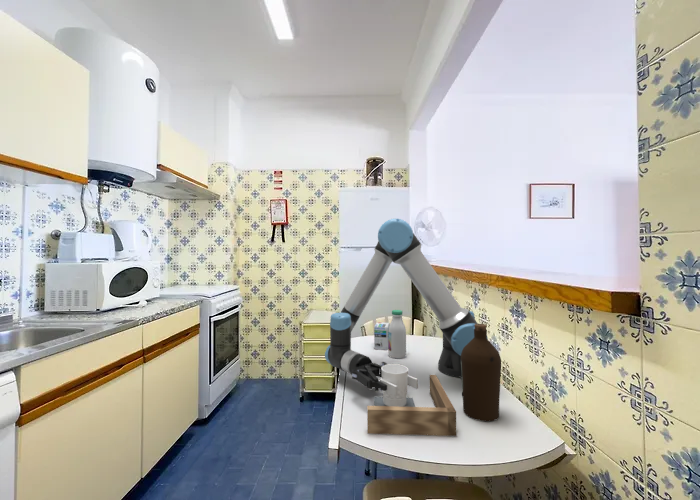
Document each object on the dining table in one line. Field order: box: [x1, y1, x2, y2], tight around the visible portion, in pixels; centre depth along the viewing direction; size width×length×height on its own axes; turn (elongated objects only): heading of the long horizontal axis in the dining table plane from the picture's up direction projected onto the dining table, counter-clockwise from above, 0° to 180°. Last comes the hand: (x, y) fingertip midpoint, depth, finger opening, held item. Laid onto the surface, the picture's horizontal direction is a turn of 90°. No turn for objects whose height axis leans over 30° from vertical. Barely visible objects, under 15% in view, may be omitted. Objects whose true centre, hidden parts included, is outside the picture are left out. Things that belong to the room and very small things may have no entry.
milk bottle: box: [387, 309, 407, 359], centre depth 141 cm, size 8×8×20 cm
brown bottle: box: [461, 323, 502, 422], centre depth 91 cm, size 11×11×25 cm
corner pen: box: [366, 374, 457, 437], centre depth 92 cm, size 22×24×6 cm
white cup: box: [381, 363, 409, 407], centre depth 94 cm, size 8×8×10 cm
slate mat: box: [373, 396, 416, 407], centre depth 94 cm, size 12×12×1 cm
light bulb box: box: [373, 321, 391, 351], centre depth 155 cm, size 11×7×11 cm, turn 168°
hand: (406, 387), depth 90 cm, fingers closed on white cup, 7 cm apart
